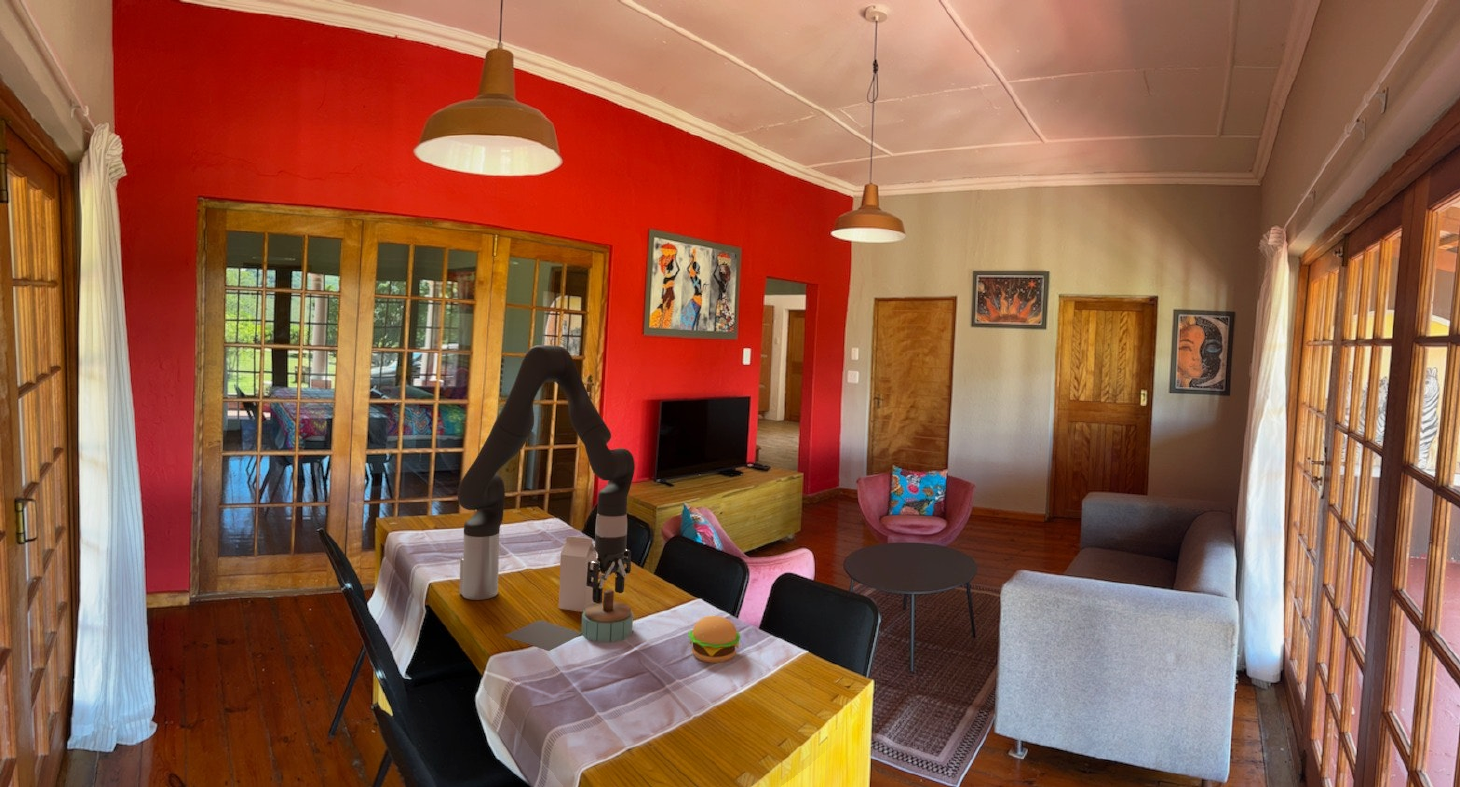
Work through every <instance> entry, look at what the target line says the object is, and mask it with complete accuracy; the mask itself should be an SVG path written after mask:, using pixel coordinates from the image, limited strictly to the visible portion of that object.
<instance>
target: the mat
mask: <svg viewBox="0 0 1460 787" xmlns="http://www.w3.org/2000/svg"><path fill="white" fill-rule="evenodd" d="M579 636H582V634H581V631H578V630H575V629H570V628H569V627H565V626H561V625H558V624H554V623H552V622H548V621H544V620H541V619H538V620H536V621H534V622H532V623H529V624H527V625H525V626H523V627H520V628H518V629H515V630H514V631H511V632H509V633H507V634H504V635H503V637H505V638H507V639H511V640H514V641H517V642H520V643H523V644H527V645H530V646H533V647H535V648H537V649H542V650H545V651H548V652H551V650H554V649H556V648H557V647H559V646H561V645H563V644H566V643H568V642H569V641H571V640H573V639H575V638H577V637H579Z"/></svg>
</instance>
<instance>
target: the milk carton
mask: <svg viewBox="0 0 1460 787" xmlns="http://www.w3.org/2000/svg"><path fill="white" fill-rule="evenodd" d="M559 557H560V562H559V564H560V565H559V591H558V592H559V593H558V609H560V610H567V611H574V612H582V613H583V612H584V610H585V609H586V607H587V606H589V605H591V604H594V602H593V599H592V597H593V587H590V586H587V585H586V582H587V569H588V562H589V561H597V552H596V551H595V544H594V543H593V538H590V537H589V538H588V537H583V536H582V537H581V536H575V535H574V536H573V535H566V539H565V542H564V545H563V547H562V550H561V552H560V556H559ZM591 581H593V577H592V579H591Z"/></svg>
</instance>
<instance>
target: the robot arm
mask: <svg viewBox="0 0 1460 787" xmlns="http://www.w3.org/2000/svg"><path fill="white" fill-rule="evenodd" d="M544 383H556V385H558V386H559V387H560V389H561V390H562V391H563V393H564V395H565V397H566V400H567V404H568V405H567V406H568V416H569V417H568V418H569V421H570V423H571V425H572V426H571V427H572V428H573V429H574V431H575V433H576V434H577V436H578V437H579V440H580V441H581V443H582V444H583V445H584V449H585V451H586V452H585V453H586V456H587V458H588V462H589V466H590V467H591V470H592V472H593V474H595V476H596V477H597V478H599V479H600V480H602V481H608V482H607V484H606V486H605V487H603V488H602V489H601V490H599V492H598V496H597V505H596V506H597V507H596V510H597V511H596V519H595V531H594V533H595V534H594V547H595V551H596V555H597V557H596V561H589V562H588V569H587V582H586V585H587V586H590V587H593V597H592V599H593V602H594V603H598V604H599V603H601V602H603V585H605V584H604V583H605V582H606V581H607V580H608V578H609V576H610V575H612V574H613V573H614V576H615V579H614V593H618V594H623V593H624V590H625V579H626V577H627V575H628V574H630V573H631V570H632V569H631V568H632V551H631V550H630V549H627V542H628V541H627V537H628V536H627V535H628V517H627V510H628V495H629V492H630V491H631V490H630V489H631V485H632V482H633V478H634V475H635V469H636V464H635V458H634V456H633V454H632V453H631V451H630V450H628V449H627V448H615V449H610V448H609V447H608V443H609V442H610V441H611V438H612V433H611V430H610V428H608V426H607V424H606V422H605V421H604V420H603V418H602V417H601V414H600V413H599V412H598V410H597V408H596V407H595V405H594V403H593V402H592V400H591V397H590V395H589V393H588V391H587V388H586V386H585V384H584V381H583V379H582V377H581V375H580V373H579V371H578V368H577V365H576V364H575V361H574V359H573V357H572V355H571V354H570V352H569V351H568V350H567V349H566V348H565V347H563V346H559V345H549V344H548V345H545V344H540V345H537V344H536V345H534V346H532V347H530V348H529V350H527V351H526V354H525V355H524V357H523V359H522V362H521V364H520V367H519V369H518V372H517V376H516V377H515V380H514V383H513V385H512V388H511V390H510V393H509V394H508V396H507V398H506V400H505V403H504V405H503V407H502V409H501V410H500V412H499V414H498V416H497V417H496V420H495V422H494V423H493V426H492V427H491V430H490V432H489V434H488V436H487V438H486V439H485V442H484V444H483V445H482V447H481V449H480V451H479V453H478V454H477V455H476V458H475V459H474V461H473V463H472V464H471V466H470V467H469V469H468V470H467V471H466V473H465V474H464V476H463V477H462V479H461V481H460V483H459V485H458V489H457V501H458V504H459V505H460V507H462V508H463V509H464V510H467V511H475V513H474V514H473V515H472V516H471V517H470V518H469V519H467V520H466V521H465V522H464V524H463V547H462V548H463V551H462V552H463V553H462V555H463V557H462V558H461V559H460V560H459V562H460V567H459V594H460V595H461V596H462V598H464V599H467V600H472V601H483V600H488V599H492V598H494V597H496V596H497V595H498V593H499V592H498V591H499V571H500V570H499V566H500V565H499V564H500V562H499V561H500V530H501V525H502V523H503V519H504V511H505V509H504V508H505V497H506V493H505V492H506V490H505V489H506V488H505V484H504V480H503V479H502V476H500V475H499V474H498V472H499V471H501V469H502V468H503V467H504V466H506V464H507V463H509V462H510V461H511V460H512V459H513V458H514V457H516V456H517V454H519V452H520V451H521V450H522V449H523V448H524V447H525V445H526V443H527V441H528V439H529V436H530V435H531V433H532V430H533V429H534V425H535V413H534V401H535V398H536V396H537V395H538V393H539V390H540V389H541V387H542V386H543V384H544ZM625 566H626V567H625ZM592 577H593V581H591V579H592ZM599 579H600V580H599Z"/></svg>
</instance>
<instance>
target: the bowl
mask: <svg viewBox="0 0 1460 787" xmlns="http://www.w3.org/2000/svg"><path fill="white" fill-rule="evenodd" d="M633 623H634V612H633V611H632V610H631V615H630V617H629V618H627V619H625V620H623V621H619V622H613V623H602V622H595V621H592V620H589V619H588V618H586V616H585V610H584V612H582V614H581V629H580V630H581V631H580V632H581V636H583V637H584V638H585V639H586V640H589V641H593V642H598V643H613V642H621V641H623V640H626V639H627V638H629V637H631V636H632V633H633Z"/></svg>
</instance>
